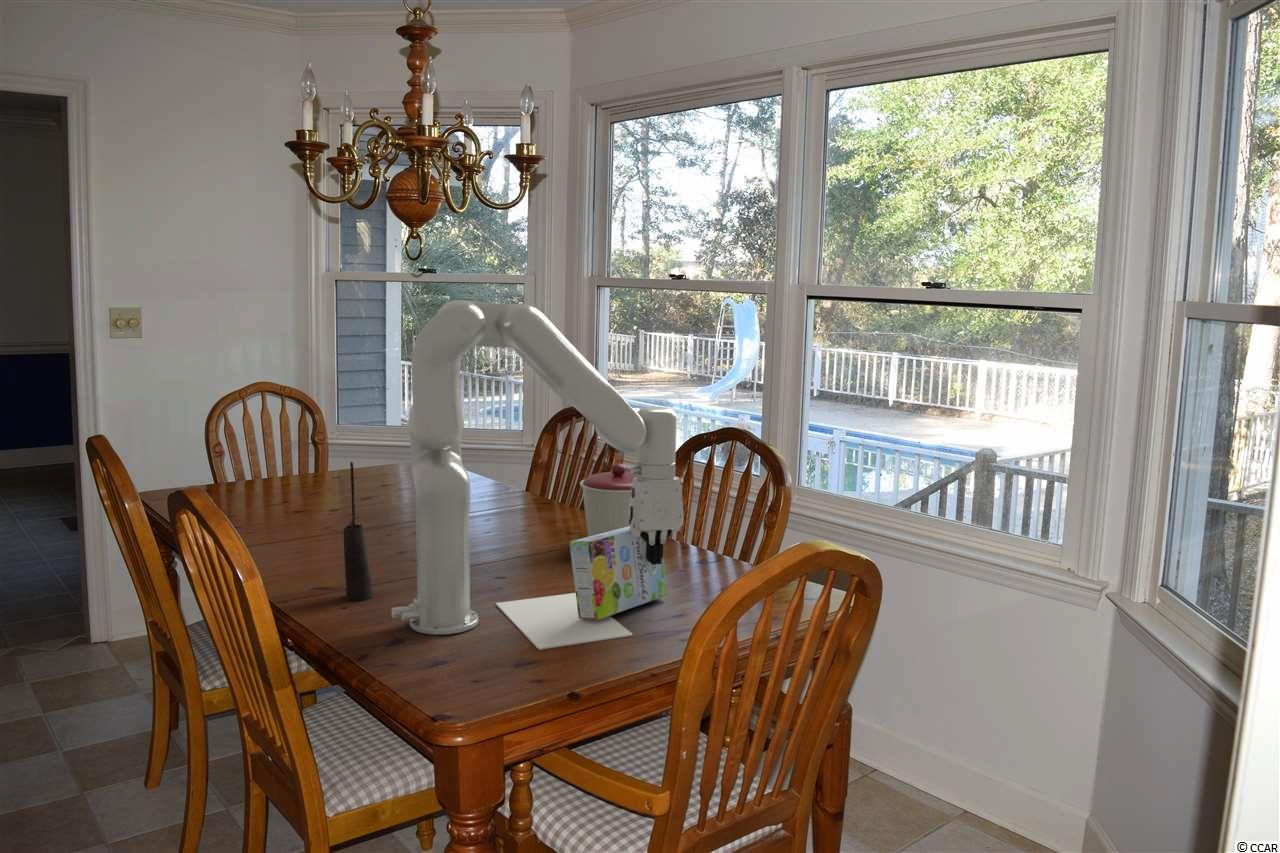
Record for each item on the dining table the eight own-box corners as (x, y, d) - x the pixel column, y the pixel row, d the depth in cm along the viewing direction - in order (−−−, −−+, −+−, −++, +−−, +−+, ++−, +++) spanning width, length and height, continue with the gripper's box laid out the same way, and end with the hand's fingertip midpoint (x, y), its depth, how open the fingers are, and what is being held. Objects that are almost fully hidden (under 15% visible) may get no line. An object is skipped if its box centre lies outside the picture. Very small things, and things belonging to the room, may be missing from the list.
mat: (538, 649, 173) (538, 648, 173) (495, 604, 196) (495, 603, 196) (632, 635, 181) (632, 634, 181) (580, 593, 204) (580, 592, 204)
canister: (586, 563, 226) (587, 472, 223) (573, 542, 243) (574, 457, 240) (663, 559, 230) (665, 469, 227) (645, 538, 247) (646, 455, 244)
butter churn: (339, 588, 205) (335, 454, 201) (386, 588, 206) (383, 455, 201) (328, 602, 196) (323, 463, 192) (377, 602, 197) (373, 463, 192)
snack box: (646, 595, 204) (639, 522, 204) (668, 596, 200) (660, 522, 200) (576, 619, 188) (568, 540, 187) (598, 621, 184) (589, 540, 184)
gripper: (628, 477, 186) (627, 572, 189) (699, 472, 192) (696, 563, 195) (612, 470, 193) (611, 561, 195) (681, 465, 199) (679, 553, 202)
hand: (654, 562), depth 195 cm, fingers closed
